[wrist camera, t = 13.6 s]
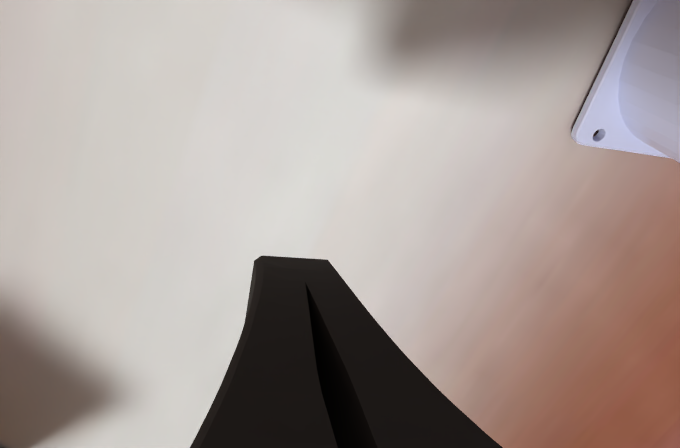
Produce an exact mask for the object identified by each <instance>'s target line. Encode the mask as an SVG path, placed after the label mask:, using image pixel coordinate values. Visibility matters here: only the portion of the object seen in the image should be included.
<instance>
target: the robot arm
mask: <svg viewBox="0 0 680 448" xmlns="http://www.w3.org/2000/svg"><path fill="white" fill-rule="evenodd" d="M597 130H599V132H598V133H597V135H596V136H594V137H593V134H594V133H595V132H596V131H597ZM571 135H572V138H573V140H574V141H575V142H577V143H578V144H581V145H586V146H592V147H599V148H606V149H612V150H619V151H626V152H633V153H639V154H646V155H653V156H659V157H666V158H672V159H674V160H675V161H677V162H679V163H680V0H633V2H632V4H631V6H630V8H629V10H628V13H627V15H626V17H625V19H624V21H623V23H622V25H621V27H620V30H619V32H618V34H617V36H616V38H615V40H614V42H613V44H612V46H611V49H610V51H609V53H608V55H607V57H606V59H605V61H604V63H603V65H602V68H601V70H600V72H599V74H598V76H597V78H596V80H595V82H594V84H593V87H592V89H591V91H590V93H589V95H588V97H587V99H586V101H585V103H584V106H583V108H582V110H581V112H580V114H579V116H578V118H577V120H576V122H575V125H574V127H573V129H572V132H571ZM190 448H502V447H501V446H500V445H499V444H498V443H496V442H495V441H494V440H493V439H492V438H491V437H489V436H488V435H487V434H486V433H485V432H484V431H482V430H481V429H480V428H479V427H478V426H477V425H476V424H475V423H474V422H473V421H472V420H470V419H469V418H468V417H467V416H466V415H465V414H464V413H463V412H462V411H461V410H459V409H458V408H457V407H456V406H455V405H454V404H453V403H452V402H451V401H450V400H449V399H448V398H447V397H446V396H444V395H443V394H442V393H441V392H440V391H439V390H438V389H437V388H436V387H435V386H434V385H433V384H432V383H431V382H430V381H429V380H428V378H427V377H426V376H425V375H424V374H423V373H422V372H421V371H420V370H419V369H418V368H417V367H416V366H415V365H414V364H413V363H412V362H411V361H410V360H409V359H408V357H407V356H406V355H405V354H404V353H403V352H402V351H401V350H400V349H399V347H398V346H397V345H396V344H395V343H394V342H393V341H392V339H391V338H390V337H389V336H388V335H387V334H386V332H385V331H384V330H383V329H382V328H381V326H380V325H379V324H378V323H377V322H376V321H375V319H374V318H373V317H372V316H371V314H370V313H369V312H368V311H367V309H366V308H365V307H364V306H363V304H362V303H361V302H360V301H359V299H358V298H357V297H356V296H355V294H354V293H353V292H352V290H351V289H350V288H349V287H348V285H347V284H346V283H345V281H344V280H343V279H342V278H341V276H340V275H339V274H338V272H337V271H336V270H335V269H334V267H333V266H332V265H331V264H330V262H329V261H328V260H322V259H306V258H290V257H274V256H261V257H259V258H258V259H256V260H255V261H254V267H253V273H252V280H251V286H250V293H249V299H248V306H247V312H246V319H245V324H244V327H243V331H242V334H241V337H240V340H239V342H238V345H237V347H236V350H235V352H234V355H233V357H232V360H231V362H230V365H229V367H228V370H227V372H226V375H225V377H224V379H223V382H222V384H221V386H220V388H219V391H218V393H217V395H216V397H215V399H214V401H213V403H212V406H211V408H210V410H209V412H208V414H207V416H206V418H205V420H204V422H203V424H202V426H201V428H200V430H199V432H198V434H197V436H196V437H195V439H194V441H193V443H192V445H191V447H190Z"/></svg>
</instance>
